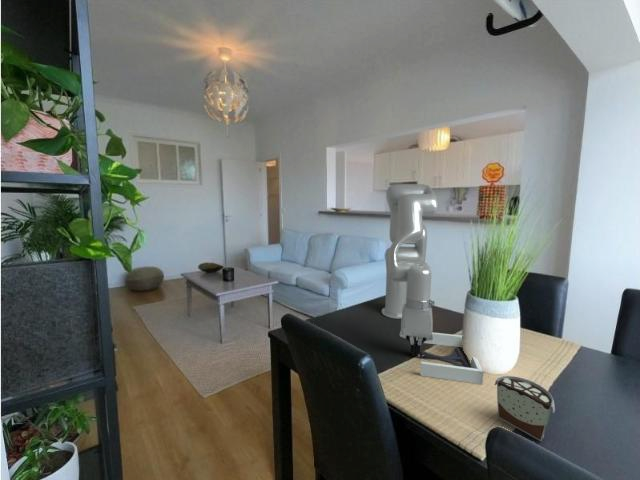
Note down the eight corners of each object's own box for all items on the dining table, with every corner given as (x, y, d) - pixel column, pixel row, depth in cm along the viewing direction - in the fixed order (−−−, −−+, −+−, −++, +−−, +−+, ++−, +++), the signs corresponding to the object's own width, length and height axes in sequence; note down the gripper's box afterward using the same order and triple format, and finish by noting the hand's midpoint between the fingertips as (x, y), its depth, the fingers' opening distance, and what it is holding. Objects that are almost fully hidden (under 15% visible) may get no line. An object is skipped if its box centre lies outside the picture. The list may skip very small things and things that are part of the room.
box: (416, 340, 116) (416, 330, 115) (465, 346, 111) (466, 336, 111) (420, 375, 93) (421, 363, 93) (482, 384, 89) (483, 371, 88)
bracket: (416, 348, 111) (416, 341, 110) (459, 352, 109) (459, 344, 108) (423, 371, 97) (423, 363, 96) (473, 375, 95) (473, 367, 94)
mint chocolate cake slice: (559, 433, 71) (564, 394, 69) (549, 446, 67) (554, 404, 66) (503, 404, 81) (506, 369, 79) (491, 413, 77) (495, 377, 76)
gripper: (440, 301, 104) (436, 351, 106) (394, 297, 107) (392, 346, 110) (443, 309, 96) (439, 363, 99) (394, 304, 100) (392, 356, 103)
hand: (415, 354), depth 105 cm, fingers closed
